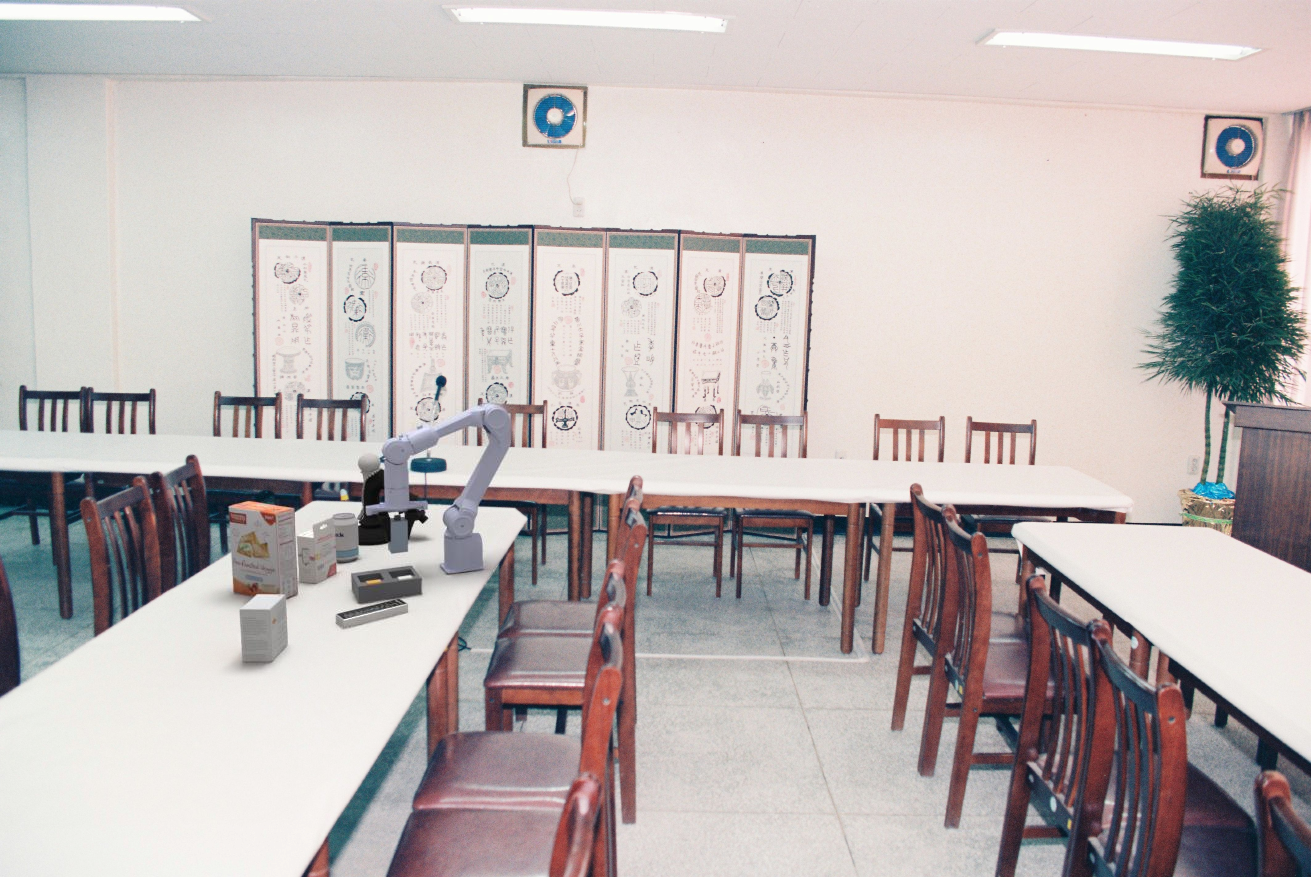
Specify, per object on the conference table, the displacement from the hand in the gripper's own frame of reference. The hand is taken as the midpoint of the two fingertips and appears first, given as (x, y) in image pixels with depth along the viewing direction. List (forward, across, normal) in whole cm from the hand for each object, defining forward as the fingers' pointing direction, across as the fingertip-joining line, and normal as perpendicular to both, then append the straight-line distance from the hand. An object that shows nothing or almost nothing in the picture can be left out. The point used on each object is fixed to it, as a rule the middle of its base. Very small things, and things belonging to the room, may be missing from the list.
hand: (397, 539), depth 192 cm
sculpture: (+9, -4, -33) cm, 35 cm away
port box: (+9, +5, +11) cm, 15 cm away
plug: (+3, 0, 0) cm, 3 cm away
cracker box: (+9, +30, +1) cm, 31 cm away
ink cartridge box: (+9, +18, -6) cm, 21 cm away
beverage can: (+9, +10, -18) cm, 23 cm away
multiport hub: (+10, +11, +25) cm, 29 cm away
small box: (+9, +32, +35) cm, 48 cm away
